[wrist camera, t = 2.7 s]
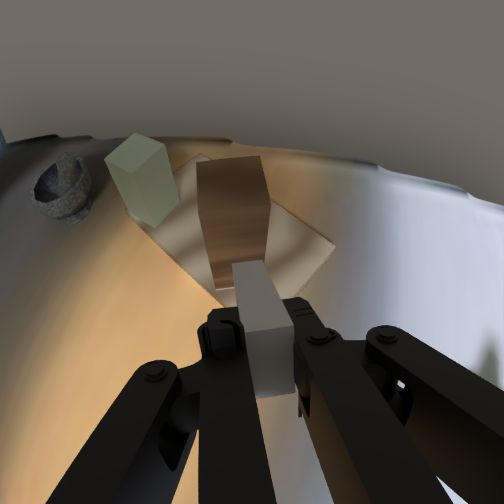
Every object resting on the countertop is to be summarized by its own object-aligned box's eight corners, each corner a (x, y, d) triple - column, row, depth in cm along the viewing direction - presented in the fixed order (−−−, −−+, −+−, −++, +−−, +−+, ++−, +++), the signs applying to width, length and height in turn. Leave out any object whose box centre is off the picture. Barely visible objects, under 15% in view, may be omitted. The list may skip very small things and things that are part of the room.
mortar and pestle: (41, 225, 38) (2, 176, 27) (72, 181, 42) (43, 129, 32) (88, 244, 36) (46, 188, 26) (120, 192, 41) (93, 131, 30)
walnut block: (261, 284, 32) (271, 204, 20) (216, 290, 32) (197, 212, 20) (255, 245, 35) (259, 155, 23) (212, 250, 34) (196, 162, 22)
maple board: (128, 215, 39) (125, 209, 37) (201, 160, 44) (200, 153, 42) (259, 337, 31) (259, 333, 30) (332, 252, 36) (335, 246, 35)
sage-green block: (129, 212, 37) (103, 159, 28) (153, 187, 39) (135, 132, 30) (155, 228, 36) (132, 173, 27) (180, 201, 38) (164, 144, 29)
